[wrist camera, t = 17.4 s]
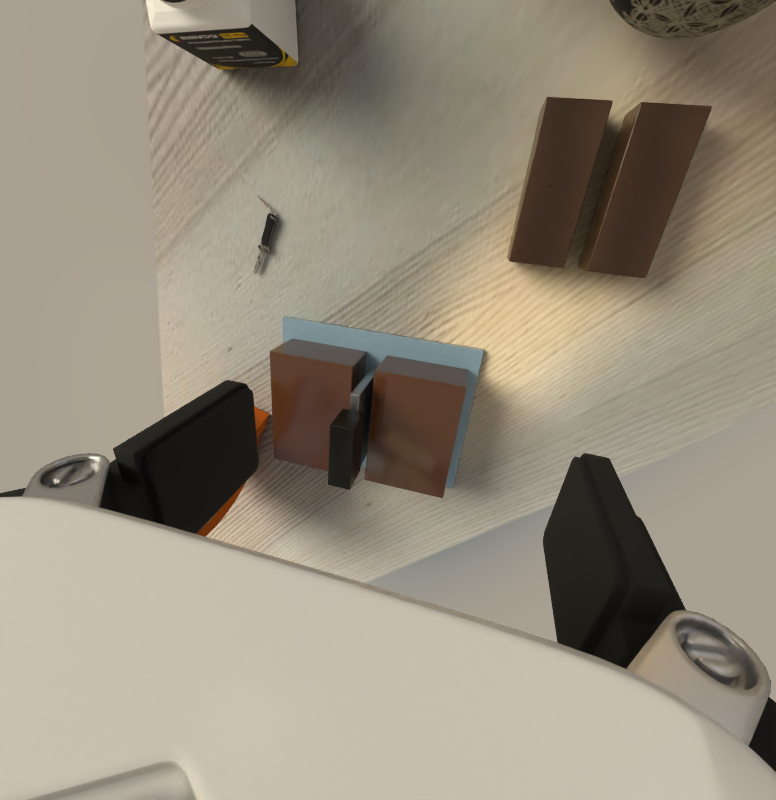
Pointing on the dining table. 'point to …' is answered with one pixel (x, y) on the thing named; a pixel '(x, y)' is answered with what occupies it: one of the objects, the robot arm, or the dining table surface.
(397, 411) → the cake
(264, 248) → the knife
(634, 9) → the decorative egg
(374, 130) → the dining table surface
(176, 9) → the medicine bottle
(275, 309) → the dining table surface
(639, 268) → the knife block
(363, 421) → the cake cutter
